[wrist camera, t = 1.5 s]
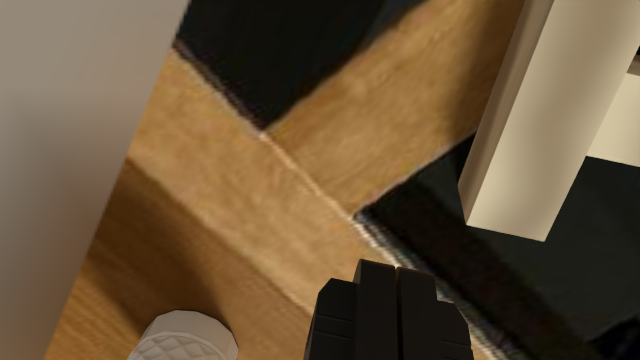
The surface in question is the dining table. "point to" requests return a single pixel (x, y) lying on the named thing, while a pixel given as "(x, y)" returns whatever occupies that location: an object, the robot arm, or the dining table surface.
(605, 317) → the dining table surface
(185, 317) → the white cup
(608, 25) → the T block
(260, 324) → the dining table surface
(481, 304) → the dining table surface
